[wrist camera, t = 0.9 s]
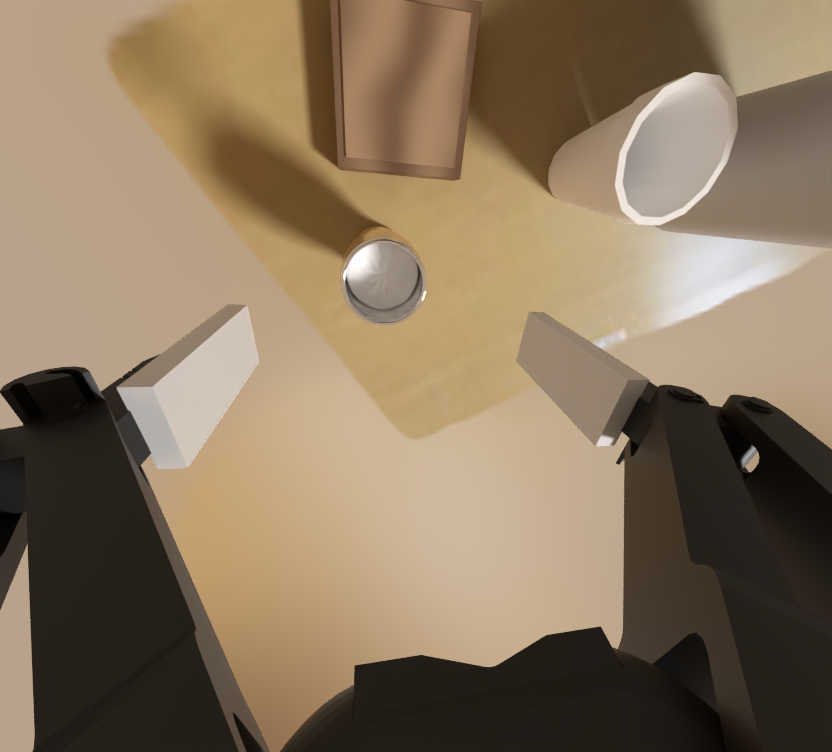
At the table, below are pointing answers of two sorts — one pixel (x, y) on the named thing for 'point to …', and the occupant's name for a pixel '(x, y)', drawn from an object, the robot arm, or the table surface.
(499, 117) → the table surface
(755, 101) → the cylinder vase
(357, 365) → the table surface
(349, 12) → the coaster
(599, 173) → the foam cup
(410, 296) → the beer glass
